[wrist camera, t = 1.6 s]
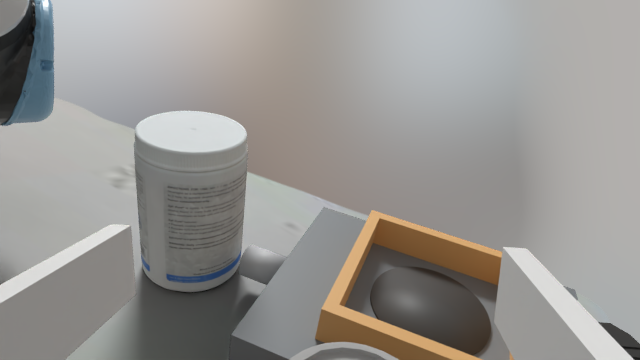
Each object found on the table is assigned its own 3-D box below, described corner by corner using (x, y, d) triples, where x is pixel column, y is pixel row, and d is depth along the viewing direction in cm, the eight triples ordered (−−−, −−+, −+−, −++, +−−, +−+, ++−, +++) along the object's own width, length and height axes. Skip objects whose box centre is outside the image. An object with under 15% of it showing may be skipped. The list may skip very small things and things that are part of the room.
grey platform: (182, 360, 34) (183, 283, 30) (285, 232, 51) (294, 172, 48) (591, 546, 27) (658, 475, 24) (553, 326, 44) (589, 265, 41)
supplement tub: (256, 253, 47) (270, 127, 40) (206, 311, 39) (213, 165, 32) (179, 225, 49) (180, 101, 42) (117, 274, 41) (106, 130, 34)
